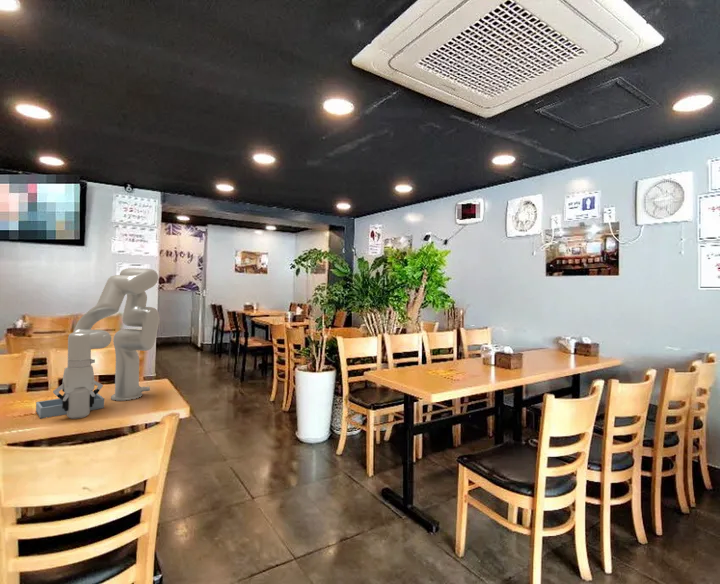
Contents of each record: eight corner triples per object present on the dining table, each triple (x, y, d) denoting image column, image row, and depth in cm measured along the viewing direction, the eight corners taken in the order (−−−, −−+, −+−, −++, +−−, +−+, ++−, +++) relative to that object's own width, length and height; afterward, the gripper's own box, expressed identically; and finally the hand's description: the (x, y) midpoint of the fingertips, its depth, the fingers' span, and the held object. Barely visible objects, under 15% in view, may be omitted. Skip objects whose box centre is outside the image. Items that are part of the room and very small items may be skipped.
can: (83, 419, 158) (84, 388, 158) (62, 419, 157) (63, 388, 157) (93, 413, 166) (93, 383, 165) (72, 413, 164) (73, 384, 164)
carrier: (97, 402, 181) (97, 393, 180) (104, 407, 173) (104, 398, 173) (36, 411, 165) (36, 401, 165) (40, 418, 158) (40, 408, 157)
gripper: (102, 359, 170) (101, 402, 170) (50, 364, 157) (49, 410, 158) (107, 362, 165) (106, 406, 165) (53, 368, 152) (52, 415, 152)
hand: (78, 407), depth 161 cm, fingers closed on can, 7 cm apart
